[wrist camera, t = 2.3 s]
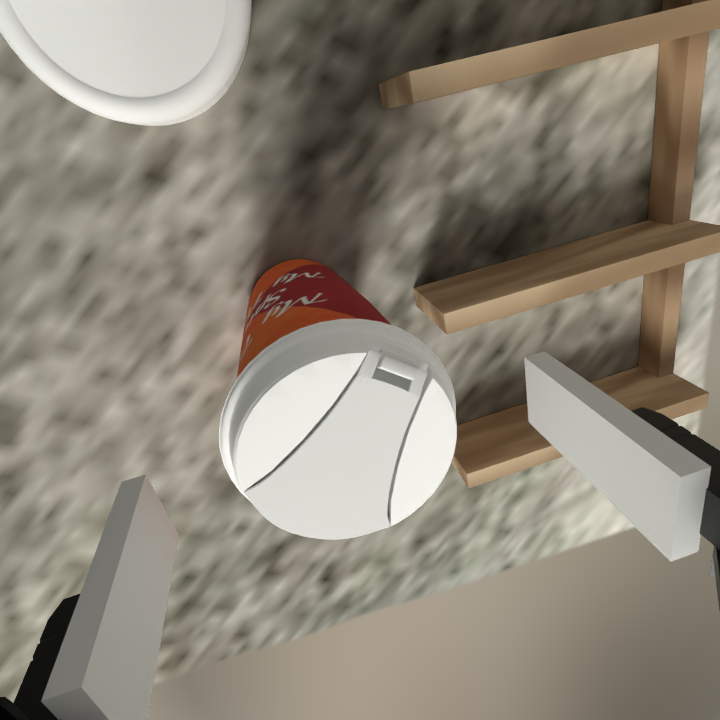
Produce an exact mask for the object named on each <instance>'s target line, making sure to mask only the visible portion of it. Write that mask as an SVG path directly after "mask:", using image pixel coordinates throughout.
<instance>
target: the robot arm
mask: <svg viewBox="0 0 720 720" xmlns="http://www.w3.org/2000/svg"><path fill="white" fill-rule="evenodd" d="M524 361H525V376H526V391H527V406H528V421H529V423H530V424H531V425H532V426H533V427H534V428H535V429H536V430H537V431H538V432H539V433H540V434H541V435H542V436H543V437H544V438H545V439H546V440H547V441H549V442H550V443H551V444H552V445H553V446H554V447H555V448H556V449H557V450H558V451H559V452H560V453H561V454H562V455H563V456H564V457H565V458H566V459H567V460H568V461H569V462H570V463H571V464H572V465H573V466H574V467H575V468H576V469H577V470H578V471H579V472H580V473H581V474H582V475H583V476H584V477H585V478H586V479H587V480H588V481H589V482H590V483H591V484H592V485H593V486H594V487H595V488H596V489H597V490H598V491H599V492H600V493H601V494H602V495H603V496H604V497H605V498H607V499H608V500H609V501H610V502H611V503H612V504H613V505H614V506H615V507H616V508H617V509H618V510H619V511H620V512H621V513H622V514H623V515H624V516H625V517H626V518H627V519H628V520H629V521H630V522H631V523H632V524H633V525H634V526H635V527H636V528H637V529H638V530H639V531H640V532H641V533H642V534H643V535H644V536H645V537H646V538H647V539H648V540H649V541H650V542H651V543H652V544H653V545H654V546H655V547H656V548H657V549H658V550H659V551H660V552H661V553H662V554H663V555H665V556H666V557H667V558H668V559H669V560H670V561H674V560H677V559H679V558H682V557H685V556H688V555H690V554H693V553H696V552H698V549H699V543H700V536H701V535H703V536H704V537H705V538H706V539H707V540H708V541H710V542H711V543H712V544H713V545H714V550H713V556H712V562H711V567H710V573H709V576H711V577H716V585H717V593H718V601H719V609H720V451H719V450H718V449H716V448H714V447H713V446H711V445H710V444H708V443H707V442H705V441H704V440H702V439H700V438H699V437H697V436H696V435H694V434H693V435H692V434H691V432H690V431H688V430H687V429H685V428H684V427H682V426H678V424H677V423H676V422H674V421H673V420H671V419H670V418H668V417H667V416H665V415H663V414H662V413H659V412H656V411H653V410H650V409H647V408H644V407H641V408H638V409H635V410H632V411H630V410H629V409H627V408H626V407H624V406H623V405H622V404H620V403H619V402H617V401H616V400H614V399H613V398H611V397H610V396H609V395H607V394H606V393H604V392H603V391H601V390H600V389H598V388H597V387H596V386H594V385H593V384H591V383H590V382H588V381H587V380H585V379H584V378H583V377H581V376H580V375H578V374H577V373H575V372H574V371H573V370H571V369H570V368H568V367H567V366H565V365H564V364H562V363H561V362H560V361H558V360H557V359H555V358H554V357H552V356H551V355H549V354H548V353H547V352H545V351H543V352H540V353H537V354H533V355H530V356H527V357H524ZM178 538H179V535H178V533H177V531H176V529H175V527H174V525H173V524H172V522H171V520H170V518H169V516H168V514H167V513H166V511H165V509H164V507H163V505H162V503H161V502H160V500H159V498H158V496H157V494H156V493H155V491H154V489H153V487H152V485H151V483H150V482H149V480H148V478H147V476H146V475H143V476H140V477H136V478H133V479H130V480H127V481H123V482H121V485H120V488H119V490H118V493H117V496H116V499H115V501H114V504H113V507H112V510H111V512H110V515H109V518H108V520H107V523H106V526H105V529H104V531H103V534H102V537H101V539H100V542H99V545H98V548H97V550H96V553H95V556H94V558H93V561H92V564H91V567H90V569H89V572H88V575H87V578H86V580H85V583H84V586H83V588H82V591H81V594H78V595H75V596H72V597H69V598H66V599H64V600H63V601H62V602H61V603H60V605H59V606H58V607H57V609H56V610H55V611H54V613H53V614H52V615H51V617H50V618H49V619H48V621H47V624H46V626H45V629H44V631H43V633H42V636H41V638H40V644H38V646H37V648H36V650H35V653H34V655H33V661H31V662H30V665H29V667H28V670H27V672H26V674H25V677H24V679H23V682H22V684H21V686H20V689H19V691H18V694H17V696H16V698H15V701H14V703H12V702H11V701H10V700H8V699H7V698H6V697H0V720H148V714H149V708H150V702H151V696H152V690H153V684H154V679H155V673H156V667H157V661H158V655H159V649H160V643H161V638H162V632H163V626H164V620H165V614H166V608H167V603H168V597H169V591H170V585H171V579H172V573H173V567H174V562H175V556H176V550H177V544H178Z"/></svg>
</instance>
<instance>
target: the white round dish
mask: <svg viewBox="0 0 720 720" xmlns="http://www.w3.org/2000/svg"><path fill="white" fill-rule="evenodd" d="M251 10H252V0H0V32H1V34H2V35H3V37H4V38H5V40H6V41H7V42H8V44H9V45H10V47H11V48H12V49H13V51H14V52H15V53H16V54H17V55H18V56H19V58H20V59H21V60H22V61H23V62H24V64H25V65H26V66H27V67H28V68H29V69H30V70H31V71H32V72H33V73H34V74H35V75H36V76H37V77H39V78H40V79H41V80H42V81H43V82H44V83H45V84H47V85H48V86H49V87H50V88H52V89H53V90H54V91H56V92H57V93H58V94H60V95H61V96H63V97H64V98H66V99H68V100H69V101H71V102H72V103H74V104H76V105H77V106H80V107H82V108H84V109H86V110H88V111H90V112H92V113H94V114H97V115H100V116H103V117H105V118H108V119H111V120H116V121H121V122H125V123H132V124H138V125H150V126H159V125H171V124H175V123H180V122H184V121H186V120H189V119H191V118H194V117H196V116H198V115H199V114H201V113H203V112H205V111H206V110H208V109H209V108H210V107H211V106H213V105H214V104H215V103H216V102H217V101H218V100H219V99H220V98H221V97H222V96H223V95H224V94H225V93H226V92H227V90H228V89H229V87H230V86H231V84H232V83H233V81H234V80H235V78H236V76H237V74H238V72H239V70H240V68H241V65H242V62H243V59H244V57H245V53H246V49H247V45H248V41H249V33H250V25H251Z"/></svg>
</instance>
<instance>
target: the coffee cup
mask: <svg viewBox="0 0 720 720" xmlns="http://www.w3.org/2000/svg"><path fill="white" fill-rule="evenodd" d="M456 440H457V421H456V401H455V395H454V389H453V386H452V383H451V380H450V377H449V375H448V372H447V371H446V369H445V367H444V366H443V364H442V362H441V361H440V359H439V358H438V357H437V356H436V355H435V354H434V352H433V351H432V350H431V349H430V348H429V347H428V346H427V345H426V344H424V343H423V342H422V341H421V340H419V339H418V338H417V337H415V336H414V335H412V334H410V333H408V332H406V331H404V330H402V329H401V328H399V327H395V326H392V325H391V324H390V323H389V322H388V321H387V320H386V319H385V318H384V317H383V316H382V315H381V314H380V313H379V312H378V310H377V309H376V308H375V307H374V306H373V305H372V304H371V303H370V302H369V301H368V300H367V299H365V298H364V297H363V296H362V295H361V294H359V293H358V292H357V291H356V290H355V289H353V288H352V287H351V286H350V285H349V284H348V283H347V282H346V281H345V280H344V279H342V278H341V277H340V276H339V275H338V274H336V273H335V272H334V271H333V270H331V269H330V268H328V267H327V266H325V265H323V264H321V263H318V262H315V261H311V260H306V259H294V260H288V261H285V262H282V263H279V264H277V265H275V266H273V267H272V268H270V269H269V270H268V271H267V272H265V273H264V274H263V275H262V276H261V278H260V279H259V280H258V282H257V283H256V285H255V286H254V289H253V291H252V294H251V296H250V300H249V304H248V309H247V315H246V321H245V327H244V333H243V340H242V346H241V353H240V360H239V367H238V374H237V379H236V380H235V382H234V384H233V386H232V388H231V390H230V391H229V393H228V395H227V398H226V401H225V404H224V407H223V410H222V413H221V419H220V426H219V444H220V452H221V455H222V459H223V463H224V466H225V468H226V470H227V472H228V474H229V476H230V478H231V480H232V481H233V483H234V484H235V485H236V487H237V488H238V490H239V491H240V492H241V493H242V494H243V495H244V496H245V497H246V498H247V499H248V500H249V501H250V502H251V503H252V504H253V505H254V506H255V508H256V509H257V510H258V511H259V512H260V513H261V514H262V515H263V516H264V517H265V518H266V519H267V520H269V521H270V522H271V523H273V524H274V525H276V526H277V527H279V528H281V529H283V530H286V531H288V532H290V533H293V534H297V535H301V536H305V537H310V538H318V539H334V540H339V539H346V538H354V537H358V536H361V535H365V534H369V533H372V532H375V531H378V530H381V529H384V528H387V527H389V526H390V525H391V526H392V525H394V524H396V523H398V522H400V521H401V520H403V519H404V518H406V517H407V516H409V515H411V514H412V513H413V512H414V511H415V510H417V509H418V508H419V507H420V506H421V505H423V504H424V503H425V501H426V500H427V499H428V498H429V497H430V496H431V495H432V494H433V493H434V492H435V490H436V489H437V487H438V486H439V485H440V483H441V482H442V480H443V478H444V477H445V475H446V473H447V471H448V469H449V467H450V464H451V461H452V458H453V455H454V451H455V445H456Z"/></svg>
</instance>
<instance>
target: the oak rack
mask: <svg viewBox="0 0 720 720" xmlns="http://www.w3.org/2000/svg"><path fill="white" fill-rule="evenodd" d="M719 28H720V0H662V12H658V13H653V14H649V15H645V16H641V17H637V18H632V19H628V20H624V21H620V22H616V23H611V24H607V25H603V26H599V27H595V28H590V29H586V30H582V31H578V32H573V33H569V34H565V35H561V36H557V37H552V38H548V39H544V40H540V41H536V42H531V43H527V44H523V45H519V46H514V47H510V48H506V49H502V50H498V51H493V52H489V53H485V54H481V55H477V56H472V57H468V58H464V59H460V60H456V61H451V62H447V63H443V64H439V65H434V66H430V67H426V68H422V69H418V70H413V71H409V72H407V73H404V74H402V75H399V76H397V77H394V78H392V79H389V80H387V81H385V82H382V83H380V84H379V90H380V96H381V102H382V108H383V110H385V109H389V108H394V107H399V106H403V105H408V104H413V103H417V102H421V101H425V100H429V99H433V98H437V97H441V96H446V95H450V94H454V93H458V92H462V91H466V90H470V89H474V88H478V87H482V86H486V85H490V84H494V83H499V82H503V81H507V80H511V79H515V78H519V77H523V76H527V75H531V74H535V73H539V72H543V71H547V70H552V69H556V68H560V67H564V66H568V65H572V64H576V63H580V62H584V61H588V60H592V59H596V58H601V57H605V56H609V55H613V54H617V53H621V52H625V51H629V50H633V49H637V48H641V47H645V46H649V45H654V44H658V43H660V44H659V59H658V74H657V90H656V105H655V120H654V135H653V150H652V165H651V180H650V195H649V211H648V220H647V221H643V222H640V223H636V224H633V225H629V226H626V227H623V228H619V229H616V230H612V231H609V232H605V233H602V234H598V235H595V236H591V237H588V238H584V239H581V240H578V241H574V242H571V243H567V244H564V245H560V246H557V247H553V248H550V249H546V250H543V251H539V252H536V253H532V254H529V255H526V256H522V257H519V258H515V259H512V260H508V261H505V262H501V263H498V264H494V265H491V266H487V267H484V268H481V269H477V270H474V271H470V272H467V273H463V274H460V275H456V276H453V277H449V278H446V279H442V280H439V281H436V282H432V283H429V284H425V285H422V286H418V287H415V288H413V289H414V295H415V301H416V306H417V307H418V308H419V309H420V310H421V311H423V312H424V313H425V314H426V315H427V316H428V317H429V318H430V319H431V320H432V321H433V322H434V323H435V324H436V325H437V326H438V327H439V328H440V329H442V330H443V331H444V332H445V333H446V334H450V333H453V332H456V331H460V330H463V329H466V328H469V327H473V326H476V325H479V324H483V323H486V322H489V321H493V320H496V319H499V318H503V317H506V316H509V315H512V314H516V313H519V312H522V311H526V310H529V309H532V308H536V307H539V306H542V305H546V304H549V303H552V302H556V301H559V300H562V299H565V298H569V297H572V296H575V295H579V294H582V293H585V292H589V291H592V290H595V289H599V288H602V287H605V286H608V285H612V284H615V283H618V282H622V281H625V280H628V279H632V278H635V277H638V276H642V275H644V286H643V301H642V317H641V332H640V347H639V362H638V367H635V368H632V369H629V370H626V371H623V372H620V373H617V374H614V375H610V376H607V377H604V378H601V379H598V380H595V381H592V382H590V383H591V384H593V385H594V386H596V387H597V388H598V389H600V390H601V391H603V392H604V393H606V394H607V395H609V396H610V397H611V398H613V399H614V400H616V401H617V402H619V403H620V404H622V405H623V406H624V407H626V408H627V409H629V410H630V411H632V410H635V409H638V408H641V407H644V408H647V409H650V410H653V411H656V412H659V413H662V414H663V415H665V416H667V417H668V418H670V419H674V418H677V417H680V416H683V415H686V414H689V413H692V412H695V411H698V410H700V409H703V408H706V407H707V403H708V396H709V393H708V392H707V391H705V390H703V389H701V388H699V387H697V386H696V385H694V384H692V383H690V382H688V381H686V380H685V379H683V378H681V377H679V376H677V375H675V374H673V370H674V360H675V351H676V342H677V332H678V323H679V313H680V304H681V294H682V285H683V276H684V266H685V262H688V261H691V260H694V259H698V258H701V257H704V256H708V255H711V254H714V253H718V252H720V225H714V224H709V223H703V222H697V221H692V220H689V219H690V210H691V200H692V191H693V181H694V172H695V162H696V153H697V144H698V134H699V125H700V115H701V106H702V96H703V87H704V78H705V68H706V59H707V49H708V40H709V31H711V30H715V29H719ZM562 456H563V455H562V454H561V453H560V452H559V451H558V450H557V449H556V448H555V447H554V446H553V445H552V444H551V443H550V442H549V441H547V440H546V439H545V438H544V437H543V436H542V435H541V434H540V433H539V432H538V431H537V430H536V429H535V428H534V427H533V426H532V425H531V424H530V423H529V421H528V406H527V403H524V404H521V405H518V406H515V407H512V408H509V409H506V410H503V411H500V412H496V413H493V414H490V415H487V416H484V417H481V418H478V419H475V420H472V421H469V422H466V423H463V424H460V425H457V440H456V445H455V451H454V455H453V458H452V461H451V462H452V463H453V465H454V467H455V468H456V470H457V471H458V473H459V474H460V476H461V477H462V479H463V480H464V482H465V483H466V485H467V486H468V488H471V487H474V486H477V485H480V484H483V483H486V482H489V481H492V480H495V479H498V478H501V477H504V476H507V475H510V474H513V473H516V472H518V471H521V470H524V469H527V468H530V467H533V466H536V465H539V464H542V463H545V462H548V461H551V460H554V459H557V458H560V457H562Z"/></svg>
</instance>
